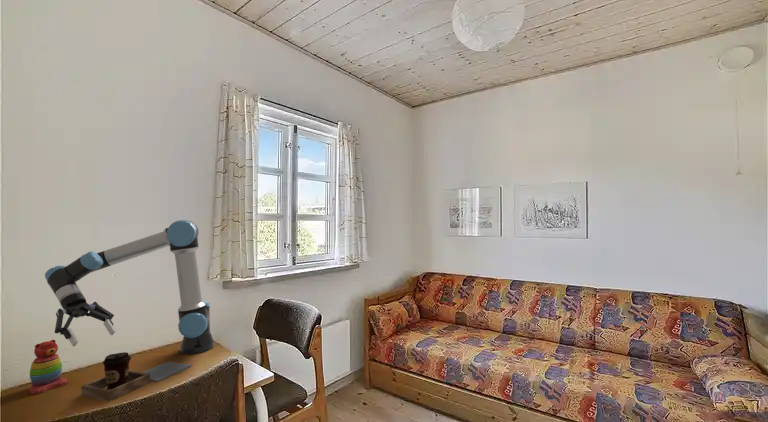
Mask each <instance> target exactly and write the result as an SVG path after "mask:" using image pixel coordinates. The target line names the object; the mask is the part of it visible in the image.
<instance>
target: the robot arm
mask: <svg viewBox="0 0 768 422" xmlns="http://www.w3.org/2000/svg"><path fill="white" fill-rule="evenodd" d="M198 237H199V227H198V226H197V225H196V223H194V222H193V221H190V220H187V219H180V220H176V221H174V222H172V223H171V224H170V225H169V226H168V227H166V228H164V230H162V231H161V232H158V233H157V232H156V233H154V234H151V235H148V236H145V237H143V238H140V239H135V240H133V241H130V242H127V243H124V244H121V245H118V246H115V247H112V248H109V249H105V250H102V251H99V252H95V251H92V250H91V251H88V252H86V253H85V254H82V255H81V256H80V257H78V258H77V259H76V260H74V261H72V262H71V263H69V264H68V265H66V266H65V265H56V266H55V267H50V268H49V269H47V271H46V272H45V273H44V279H45V280H46V282H47V284H48V286H49V287H50V289H51V291H52V292H53V294H54V296H55V297H56V299H57V301H58V302H59V304H60V306H61V308H58V310H57V311H56V312H55V317H56V322H55V327H54V333H55V334H59V335H60V336H61V335H63V336H64V339H66V340H68V341H69V343H70V344H71V346H72V347H76V346H77V344H78V343H79V340H78V338H77V337H76V335H75V333H74V331H73V330H72V328H69V327H70V325H71V323H72V321H73V319H74V318H76V319H78V318H80V317H81V318H82V317H90V318H93V319H96V320H99V321H101V322H103V325H104V327H105V329H106V330H107V332H108V333H109V335H110V336H113V335H115V333H116V332H117V331H116V328H114V323H113V321H112V319H113V318H114V317H115V314H114V313H112V312H110V311H108V310H107V309H106V308H104V307H103V306H101V305H99V304H98V302H97V301H93V303H87V299H86V298H85V296H84V294H83V293H82V290H81V289H80V287H79V286H78V284H77V283H76V282H78V281H80V280H81V279H83V278H84V277H86V276H87V275H89V274H92V273H93V272H96V271H100V270H103V269H106V268H108V267H110V266H114V265H117V264H119V263H123V262H126V261H128V260H132V259H135V258H137V257H139V256H141V257H142V256H143V255H146V254H149V253H152V252H156V251H158V250H160V249H161V250H162V249H164V248H167V247H169V250H170V252H171V253H173V255H174V257H175V258H174V260H175V267H176V274H177V282H178V283H177V284H178V290H179V299H180V306H179V307H178V309H177V313H178V320H179V321H178V325H177V326H178V331H179V333H180V335H182V336H183V337H182V340H181V341H182V342H181V344H180V347H179V349H180V350H179V351H180V353H181V354H187V355H191V354H192V355H193V354H199V353H203V352H206V351H209V350H212V349H213V348H215V347H214V346H215V340H214V338H213V336H212V333H211V320H210V319H211V318H210V316H211V315H210V309H211V306H210V302H209V301H203V300H202V293H201V285H200V277H199V276H200V275H199V268H198V260H197V250H198V248H199V241H198V240H199V239H198ZM65 314H66V315H68V318H67V320H66V321H65V323H64V322H63V321H64V315H65ZM63 323H64V326H63Z"/></svg>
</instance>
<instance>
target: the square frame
mask: <svg viewBox="0 0 768 422" xmlns="http://www.w3.org/2000/svg"><path fill="white" fill-rule="evenodd" d="M142 372H143V371H142ZM142 372H140V371H135V370H130V369H129V371H128V378H127V383H125V384H123V385H120V386H118V387H116V388H114V389H111V390H109V389H107V388H106V387H108V385H107V383H106V377H105V376H103V377H101V378H98V379H96V380H93V381H91V382H88V383H86V384H84V385H81V386H80V387H81V388H80V389H81V391H80V392H81V393H80V394H81V396H82V397H85V398H91V399H95V400H100V401H104V402H105V401H106V402H111V400H112V401H115V400H117V399H118V398H120V397H119V396H121V397H122V395H123V396H125V395H127V394H129V393H131V392H133V391H136V390H137V389H139V388H140V389H141V388H142V387H144V386H146V384H147V385H148V384H150V383H151V381H150V374H148V373H142ZM117 397H118V398H117Z"/></svg>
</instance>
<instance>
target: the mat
mask: <svg viewBox="0 0 768 422" xmlns="http://www.w3.org/2000/svg"><path fill="white" fill-rule="evenodd" d="M191 367H192V364H189V363H181V362H175V361H174V362H173V361H165V362H164V363H161V364H158V365H156V366H154V367H152V368H150V369H147V370H145V371H142V373H148V374H150V382H155V383H159V382H161V381H162V380H163V381H164V380H165V379H168V378H169V377H171V376H173V375H175V374H178V373H179V372H182V371H185V370H186V369H188V368H191Z"/></svg>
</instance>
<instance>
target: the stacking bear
mask: <svg viewBox="0 0 768 422" xmlns="http://www.w3.org/2000/svg"><path fill="white" fill-rule="evenodd" d="M33 350H34V352H33V353H34V355H35V357H36V358H34V360H33V361H32V362H31V364H30V370H29V379H30V381H31V384H32V385H31V386H30V387H29V393H30V394H31V395H39V394H42V393H44V392H47V391H48V390H52V389H54V388H59V387H63V386H65V385H67V384H68V382H69V381H68V380H67V379H66V378H64V377H61V374H62V371H63V370H62V369H63V364H62V363H63V362H62V361H61V357H60V356H59V354H58V350H59V346H58V344H57V343H56V340H55V339H51V340H48V341H43V342H40V343H36V344H35V345H34V349H33Z"/></svg>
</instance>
